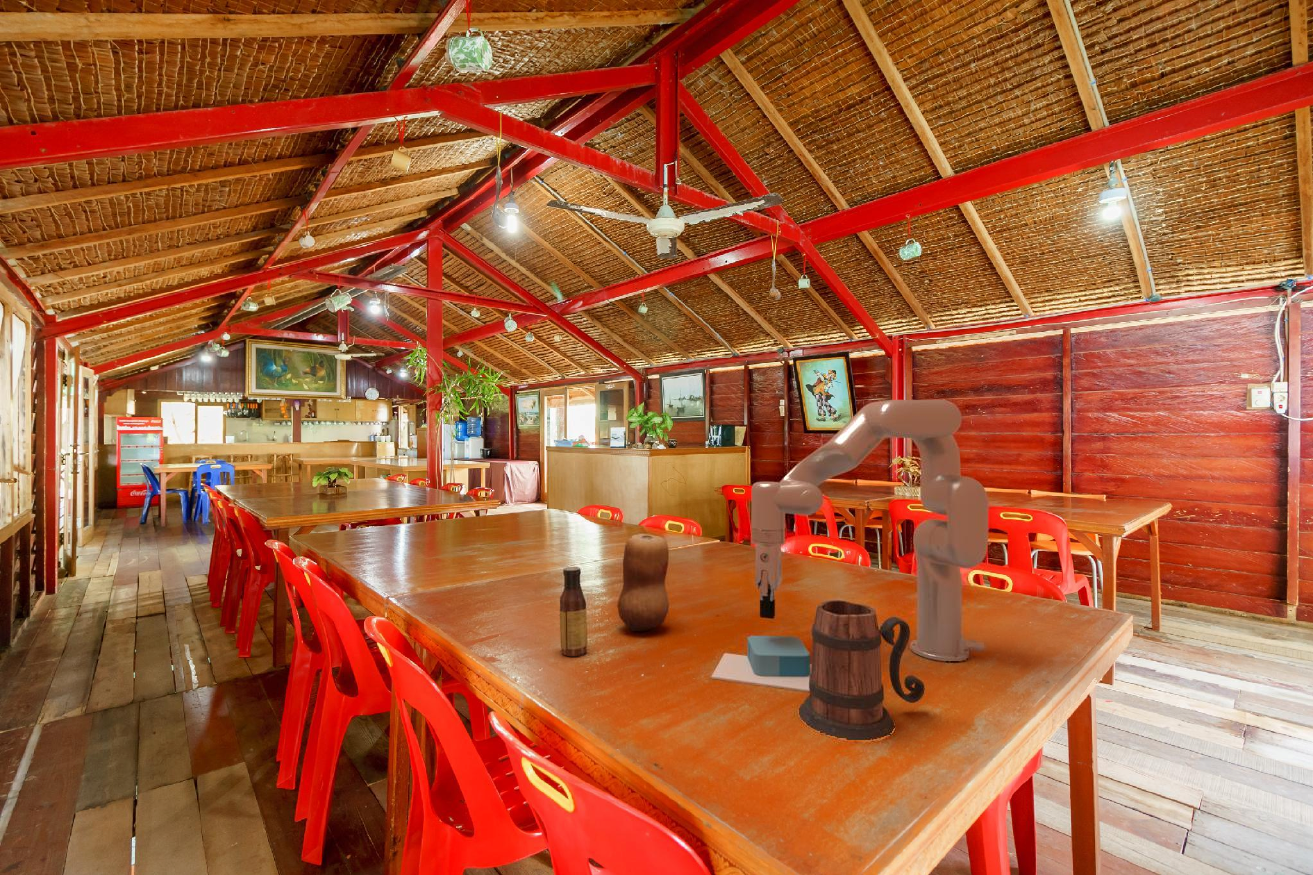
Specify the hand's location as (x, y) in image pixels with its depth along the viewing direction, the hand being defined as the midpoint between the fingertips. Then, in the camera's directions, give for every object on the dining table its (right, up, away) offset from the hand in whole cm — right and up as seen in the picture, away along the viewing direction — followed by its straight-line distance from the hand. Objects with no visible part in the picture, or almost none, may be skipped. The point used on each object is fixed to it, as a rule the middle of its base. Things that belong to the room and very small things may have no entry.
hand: (767, 616), depth 129 cm
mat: (-2, -10, -6) cm, 12 cm away
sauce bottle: (-45, -10, +5) cm, 46 cm away
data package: (+2, -8, +3) cm, 8 cm away
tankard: (+12, -10, -26) cm, 30 cm away
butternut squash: (-29, -10, +22) cm, 37 cm away
